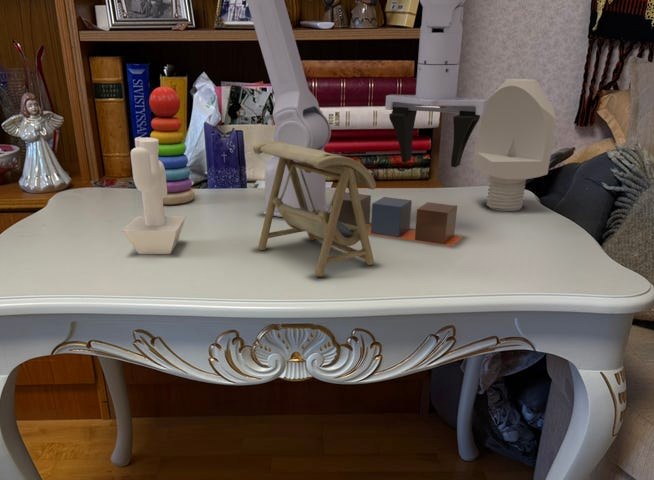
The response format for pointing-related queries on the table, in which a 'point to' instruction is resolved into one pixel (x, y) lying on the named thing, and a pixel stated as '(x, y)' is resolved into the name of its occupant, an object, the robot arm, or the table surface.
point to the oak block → (348, 213)
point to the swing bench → (315, 221)
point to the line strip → (411, 236)
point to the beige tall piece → (514, 141)
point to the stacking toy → (171, 145)
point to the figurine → (151, 202)
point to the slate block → (391, 216)
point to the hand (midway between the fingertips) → (430, 163)
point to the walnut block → (435, 222)
